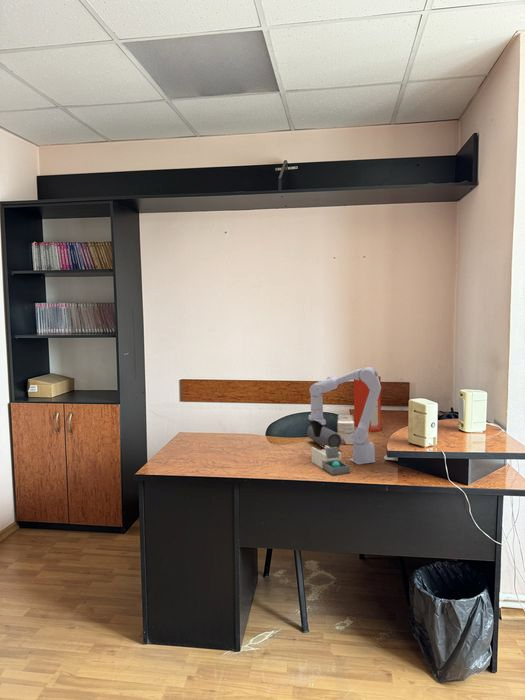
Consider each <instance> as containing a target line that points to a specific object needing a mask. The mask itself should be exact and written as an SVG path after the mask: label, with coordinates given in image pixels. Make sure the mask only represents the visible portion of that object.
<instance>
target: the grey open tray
mask: <svg viewBox="0 0 525 700" xmlns="http://www.w3.org/2000/svg"><path fill="white" fill-rule="evenodd" d="M336 462H339V463H340V467H337V468H332V464H333V462H329V463H324V468H323V471H326V472H327V473H328V474H330V475H331V476H338V475H346V474H350V472H351V471H350V467H351V465H349V464H346V462H343V461H341V460H338V461H336Z"/></svg>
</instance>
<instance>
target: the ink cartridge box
mask: <svg viewBox="0 0 525 700" xmlns="http://www.w3.org/2000/svg"><path fill="white" fill-rule="evenodd" d="M336 428H337V431H336V433H337V434H339V435H340V437H341V440H342V443H341V445H343V444H353V441H354V440H353V433H354V432H355V426H354V415H348V414H347V415H338V416H337V427H336Z"/></svg>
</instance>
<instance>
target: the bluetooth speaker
mask: <svg viewBox="0 0 525 700" xmlns="http://www.w3.org/2000/svg"><path fill="white" fill-rule="evenodd" d="M306 435H307V436H308V438H309V439H311V440H312V441H314V443H316V444H317V445H318V444H319V445H321V446H323V447H325V446H326V445H327V446H329V447H337V448H338V449H339V448H340V447H341V446H342V444H341V443H342V440H341V437H340V435H339V434H337V431H334V430H332V429H331V428H328V427H326V426H323V427H322V429H321V433H320V437H315V436H314V432H313V428H312V426H311V424H310V425H309V426H308V428H307V432H306ZM319 445H318V446H319ZM321 446H320V447H321ZM323 447H322V448H323Z"/></svg>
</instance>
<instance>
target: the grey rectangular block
mask: <svg viewBox="0 0 525 700" xmlns="http://www.w3.org/2000/svg"><path fill="white" fill-rule="evenodd" d="M324 449H325V451H326V455H327V458H332V457H338V452H339V448H337V447H330V448H324Z"/></svg>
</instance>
